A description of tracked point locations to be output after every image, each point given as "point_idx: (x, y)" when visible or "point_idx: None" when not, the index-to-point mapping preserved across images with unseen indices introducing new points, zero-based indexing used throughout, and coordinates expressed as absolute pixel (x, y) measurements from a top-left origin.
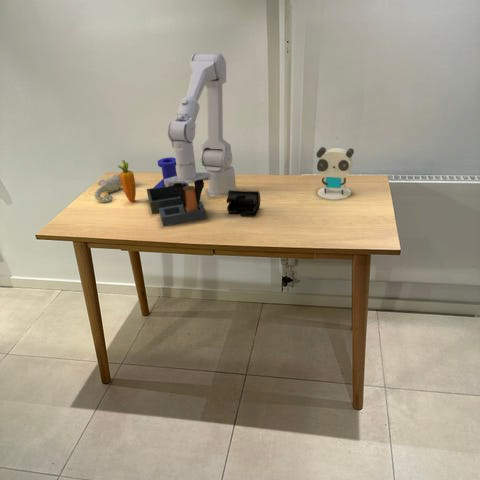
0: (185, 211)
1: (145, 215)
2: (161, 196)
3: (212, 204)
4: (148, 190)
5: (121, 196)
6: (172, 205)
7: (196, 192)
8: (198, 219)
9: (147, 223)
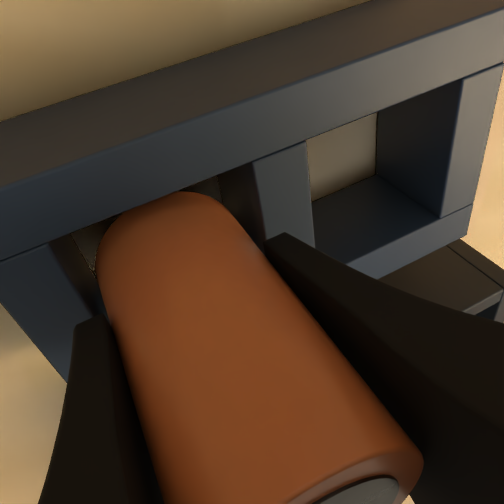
0: None
1: (469, 222)
2: None
3: (11, 448)
4: None
5: None
6: None
7: (151, 495)
8: (54, 114)
9: (496, 101)
